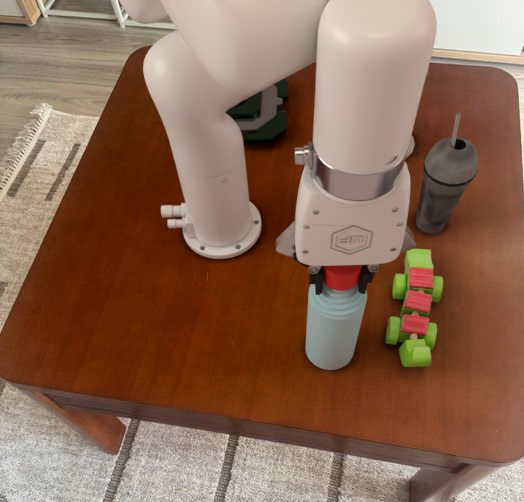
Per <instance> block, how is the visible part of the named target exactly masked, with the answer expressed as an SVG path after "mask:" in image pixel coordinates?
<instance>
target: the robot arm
mask: <svg viewBox="0 0 524 502" xmlns="http://www.w3.org/2000/svg"><path fill="white" fill-rule="evenodd" d="M118 2H119V3H120V6H121V7H122V9H123V10H124V11H125V13H126V14H127V16H129V17H130V18H131V19H132V20H133V21H135V22H137V23H138V24H142V25H149V24H156V23H159V22H162V21H165V20H167V19H170V20H171V22H172V23H173V25H174V27H175V29H174V30H173V31H170V32H169V33H168V34H166V35H163V37H161V38H159V39H158V40H156V42H155V43H154V44H153V45H152V46H151V47H150V48H149V50H148V51H147V53H146V54H145V57H144V59H143V66H142V73H143V77H144V81H145V85H146V88H147V90H148V92H149V95H150V97H151V99H152V101H153V104H154V106H155V107H156V110H157V112H158V115H159V117H160V119H161V122H162V124H163V126H164V130H165V132H166V135H167V138H168V142H169V145H170V149H171V152H172V156H173V161H174V163H175V168H176V171H177V176H178V179H179V184H180V188H181V192H182V195H183V199H184V202H181V203H180V205H178V204H177V205H174V204H161V206H160V214H161V218H162V219H164V218H165V219H166V218H167V228H168V229H177V228H182V234H183V239H184V240H185V243H186V245H187V246H188V247H189V248H190V249H191V250H192V251H193V252H194V253H196V254H198V255H199V256H202V257H204V258H208V259H213V260H225V259H231V258H234V257H238V256H240V255H242V254H244V253H247V251H248V250H250V249H251V248H252V247H253V246H254V245H255V244H256V242H257V241H258V239H259V238H260V235H261V232H262V218H261V214H260V211H259V209H258V208H257V206H255V204H254V203H253V202H251V201H250V193H249V185H248V174H247V166H246V157H245V156H246V153H245V145H244V140H243V137H242V133H241V131H240V128H239V127H238V125H237V123H236V122H235V121H234V120H233V119H232V118H231V117H230V116H229V115H228V114H226V113H225V112H226V111H227V110H228V109H230V108H232V107H233V106H235V105H237V104H239V103H240V102H242V101H243V100H245V99H247V98H249V97H251V96H253V95H255V94H257V93H259V92H260V91H262V90H264V89H266V88H268V87H269V86H271V85H273V84H275V83H276V82H278V81H280V80H282V79H284V78H285V79H287V78H288V77H289V76H292V75H293V74H295V73H297V72H299V71H301V70H303V69H305V68H306V67H309V66H311V65H312V64H315V83H314V84H315V88H314V89H315V90H314V107H313V108H314V110H313V127H312V131H311V132H312V133H311V141H308V143H307V144H306V145H303V146H302V147H294V166H299V165H301V166H302V165H303V167H304V168H303V170H302V174H301V177H300V181H299V186H298V189H297V190H298V191H297V198H296V204H295V215H294V221H293V222H292V223H290V225H288V226H287V228H286V229H284V231H282V232H281V234H279V236H277V238H276V239H275V252H277V253H278V254H281V255H284V256H286V257H287V258H291V257H292V259H293V261H295V262H296V263H298V264H300V265H302V267H303V266H304V267H305V268H307V272H308V284H309V285H311V284H315V294H316V295H320V294H322V288H323V278H324V270H323V266H338V265H362V270H361V275H360V279H359V282H358V292H359V293H360V294H365V293H366V291H367V288H368V284H373V282H374V281H373V280H374V277H375V273H377V272H379V271H380V270H381V266H382V265H383V264H388V263H391V262H393V261H395V260H396V259H397V258H398V257H399V256H400V255H401V254H404V253H406V251H409V250H411V249H416V248H417V240H416V235H415V233H414V232H413V231H412V229H411V228H410V227H409V225H407V224H408V223H407V222H408V218H409V217H408V216H409V210H410V201H411V188H412V187H411V183H412V182H411V174H410V172H409V167H408V164H407V162H406V159H407V158H406V155H407V151H408V147H409V143H410V139H411V135H412V134H413V131H414V126H415V122H416V120H417V119H416V118H417V116H418V115H417V114H418V111H419V106H420V103H421V98H422V95H423V91H424V86H425V84H426V83H425V82H426V78H427V76H428V73H427V71H428V72H429V67H430V62H431V58H432V55H433V51H434V47H435V42H436V37H437V28H438V27H437V25H438V22H437V17H436V12H435V9H434V7H433V5H432V3H431V1H430V0H118ZM426 75H427V76H426ZM412 136H413V135H412ZM180 217H181V219H180ZM176 218H179V219H176Z"/></svg>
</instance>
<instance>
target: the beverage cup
mask: <svg viewBox="0 0 524 502" xmlns="http://www.w3.org/2000/svg"><path fill="white" fill-rule="evenodd" d="M454 119H455V120H454V125H453V131H452V136H449V137H444V138H443V139H441V140H439V141H438V142H436V143H435V144H434V145H433V146H432V148H430V150H429V151H428V153H427V155H426V156H425V158H424V161H423V163H422V166H423V168H422V182H421V187H420V193H419V199H418V204H417V210H416V218H415V224H416V226H417V228H418V229H419V230H420V231H422V232H424V233H427V234H435V233H436V234H437V233H439V232H442V230H443V229H444V228H445V226H446V224H447V223H448V221H449V220H450V218H451V216H452V214H453V213H454V210H455V209H456V207H457V205H458V203H459V201H460V199H461V198H462V196H463V194H464V192H465V190H466V189H467V188H468V186H469V185H470V184H471V183H472V181H473V180H474V178H475V177H476V176H477V172H478V165H479V155H478V152H477V149H476V148H475V146H474V145H473V143H472V142H471V141H470V140H468V139H467V138H464V137H462V136H458V130H459V126H460V120H461V112H456V115H455V118H454Z"/></svg>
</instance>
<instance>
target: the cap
mask: <svg viewBox="0 0 524 502" xmlns="http://www.w3.org/2000/svg"><path fill="white" fill-rule="evenodd" d="M323 270H324V278H323V282H324V283H325V284H326V285H327V286H328V287H329V288H331V289H333V290H337V291H346V290H349V289H351V288H353V287H354V286H356V285H357V283H358V282H359V279H360V275H361V270H362V265H338V266H323Z"/></svg>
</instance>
